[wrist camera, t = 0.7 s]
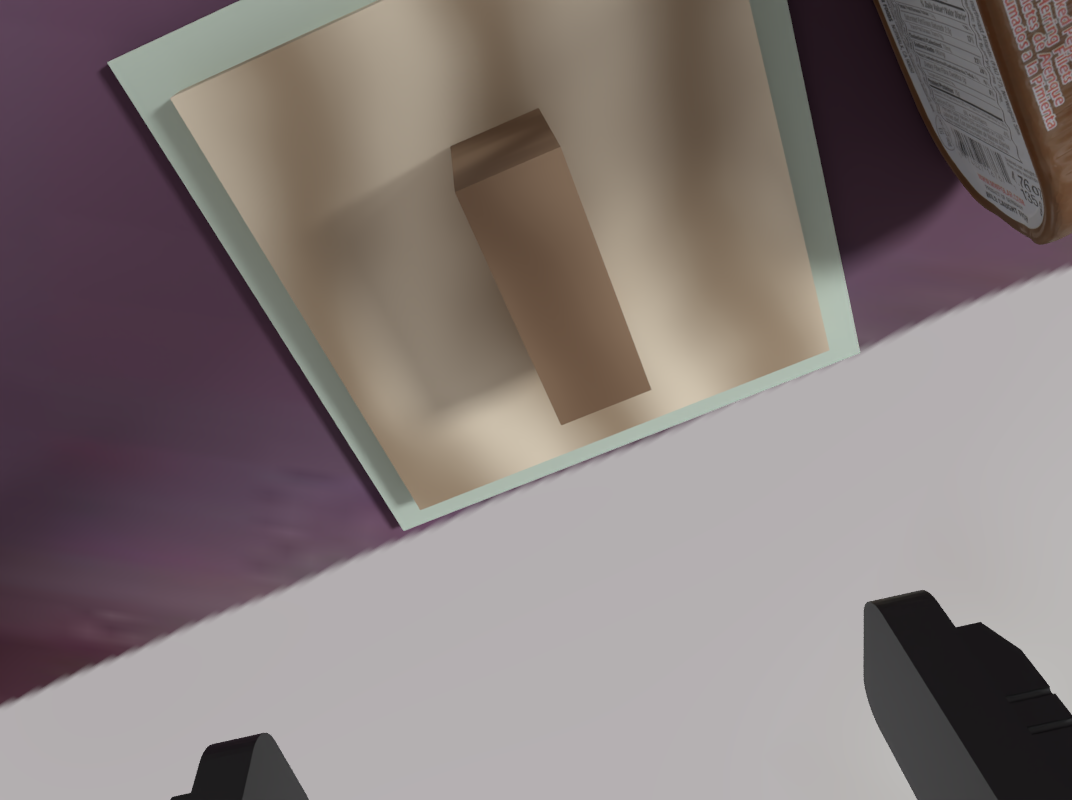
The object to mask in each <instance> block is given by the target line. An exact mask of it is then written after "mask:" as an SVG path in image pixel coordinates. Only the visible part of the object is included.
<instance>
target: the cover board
mask: <svg viewBox="0 0 1072 800" xmlns="http://www.w3.org/2000/svg"><path fill="white" fill-rule="evenodd" d="M170 99H171V101H172V102H173V104H174V106H175V107H176V109H177V111H178V112H179V114H180V116H181V117H182V119H183V121H184V122H185V124H186V126H187V127H188V129H189V130H190V132H191V134H192V135H193V137H194V139H195V140H196V142H197V144H198V145H199V147H200V149H201V150H202V152H203V153H204V155H205V157H206V158H207V160H208V162H209V163H210V165H211V167H212V168H213V170H214V172H215V173H216V175H217V177H218V178H219V180H220V181H221V183H222V185H223V186H224V188H225V190H226V191H227V193H228V195H229V196H230V198H231V200H232V201H233V203H234V204H235V206H236V208H237V209H238V211H239V213H240V214H241V216H242V218H243V219H244V221H245V223H246V224H247V226H248V228H249V229H250V231H251V232H252V234H253V236H254V237H255V239H256V241H257V242H258V244H259V246H260V247H261V249H262V251H263V252H264V254H265V255H266V257H267V259H268V260H269V262H270V264H271V265H272V267H273V269H274V270H275V272H276V274H277V275H278V277H279V279H280V280H281V282H282V283H283V285H284V287H285V288H286V290H287V292H288V293H289V295H290V297H291V298H292V300H293V302H294V303H295V305H296V306H297V308H298V310H299V311H300V313H301V315H302V316H303V318H304V320H305V321H306V323H307V325H308V326H309V328H310V330H311V331H312V333H313V334H314V336H315V338H316V339H317V341H318V343H319V344H320V346H321V348H322V349H323V351H324V353H325V354H326V356H327V357H328V359H329V361H330V362H331V364H332V366H333V367H334V369H335V371H336V372H337V374H338V376H339V377H340V379H341V380H342V382H343V384H344V385H345V387H346V389H347V390H348V392H349V394H350V395H351V397H352V399H353V400H354V402H355V404H356V405H357V407H358V408H359V410H360V412H361V413H362V415H363V417H364V418H365V420H366V422H367V423H368V425H369V427H370V428H371V430H372V431H373V433H374V435H375V436H376V438H377V440H378V441H379V443H380V445H381V446H382V448H383V450H384V451H385V453H386V455H387V456H388V458H389V459H390V461H391V463H392V464H393V466H394V468H395V469H396V471H397V473H398V474H399V476H400V478H401V479H402V481H403V482H404V484H405V486H406V487H407V489H408V491H409V492H410V494H411V496H412V497H413V499H414V501H415V502H416V504H417V506H418V507H419V509H420V510H422V509H425V508H428V507H430V506H433V505H435V504H438V503H440V502H443V501H445V500H448V499H451V498H453V497H456V496H458V495H461V494H463V493H466V492H468V491H471V490H474V489H476V488H479V487H481V486H484V485H486V484H489V483H491V482H494V481H497V480H499V479H502V478H504V477H507V476H509V475H512V474H514V473H517V472H520V471H522V470H525V469H527V468H530V467H532V466H535V465H537V464H540V463H543V462H545V461H548V460H550V459H553V458H555V457H558V456H560V455H563V454H566V453H568V452H571V451H573V450H576V449H578V448H581V447H583V446H586V445H589V444H591V443H594V442H596V441H599V440H601V439H604V438H606V437H609V436H612V435H614V434H617V433H619V432H622V431H624V430H627V429H629V428H632V427H635V426H637V425H640V424H642V423H645V422H647V421H650V420H652V419H655V418H658V417H660V416H663V415H665V414H668V413H670V412H673V411H675V410H678V409H681V408H683V407H686V406H688V405H691V404H693V403H696V402H698V401H701V400H704V399H706V398H709V397H711V396H714V395H716V394H719V393H721V392H724V391H727V390H729V389H732V388H734V387H737V386H739V385H742V384H744V383H747V382H750V381H752V380H755V379H757V378H760V377H762V376H765V375H767V374H770V373H773V372H775V371H778V370H780V369H783V368H785V367H788V366H790V365H793V364H796V363H798V362H801V361H803V360H806V359H808V358H811V357H813V356H816V355H819V354H821V353H824V352H826V351H829V345H828V341H827V337H826V332H825V328H824V324H823V319H822V315H821V310H820V306H819V302H818V297H817V293H816V289H815V284H814V280H813V276H812V271H811V267H810V263H809V258H808V254H807V250H806V245H805V241H804V237H803V232H802V228H801V224H800V219H799V215H798V211H797V206H796V202H795V198H794V193H793V189H792V184H791V180H790V176H789V171H788V167H787V163H786V158H785V154H784V150H783V145H782V141H781V137H780V132H779V128H778V124H777V119H776V115H775V111H774V106H773V102H772V98H771V93H770V89H769V85H768V80H767V76H766V72H765V67H764V63H763V58H762V54H761V50H760V45H759V41H758V37H757V32H756V28H755V24H754V19H753V15H752V11H751V6H750V2H749V0H377V1H375V2H373V3H370V4H368V5H366V6H364V7H362V8H359V9H357V10H355V11H353V12H351V13H349V14H346V15H344V16H342V17H340V18H338V19H335V20H333V21H331V22H329V23H327V24H325V25H322V26H320V27H318V28H316V29H314V30H311V31H309V32H307V33H305V34H303V35H301V36H298V37H296V38H294V39H292V40H290V41H287V42H285V43H283V44H281V45H279V46H277V47H274V48H272V49H270V50H268V51H266V52H263V53H261V54H259V55H257V56H255V57H253V58H250V59H248V60H246V61H244V62H242V63H239V64H237V65H235V66H233V67H231V68H229V69H226V70H224V71H222V72H220V73H218V74H215V75H213V76H211V77H209V78H207V79H205V80H202V81H200V82H198V83H196V84H194V85H191V86H189V87H187V88H185V89H183V90H181V91H179V92H178V93H176V94H175V95H173V96H172V97H171V98H170Z"/></svg>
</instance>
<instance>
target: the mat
mask: <svg viewBox="0 0 1072 800" xmlns="http://www.w3.org/2000/svg"><path fill="white" fill-rule="evenodd" d="M375 1H377V0H240V1H238V2H235V3H233V4H231V5H229V6H227V7H225V8H223V9H220V10H218V11H216V12H214V13H212V14H210V15H208V16H205V17H203V18H201V19H199V20H197V21H195V22H193V23H190V24H188V25H186V26H184V27H182V28H180V29H178V30H175V31H173V32H171V33H169V34H167V35H165V36H163V37H160V38H158V39H156V40H154V41H152V42H150V43H148V44H145V45H143V46H141V47H139V48H137V49H135V50H133V51H130V52H128V53H126V54H124V55H122V56H120V57H118V58H115V59H113V60H111V61H109V62H107V63H108V65H109V66H110V68H111V69H112V71H113V73H114V74H115V76H116V77H117V79H118V81H119V82H120V84H121V85H122V87H123V88H124V90H125V92H126V93H127V95H128V96H129V98H130V99H131V101H132V103H133V104H134V106H135V107H136V109H137V111H138V112H139V114H140V115H141V117H142V118H143V120H144V122H145V123H146V125H147V126H148V128H149V130H150V131H151V133H152V134H153V136H154V137H155V139H156V141H157V142H158V144H159V145H160V147H161V148H162V150H163V152H164V153H165V155H166V156H167V158H168V160H169V161H170V163H171V164H172V166H173V167H174V169H175V171H176V172H177V174H178V175H179V177H180V178H181V180H182V182H183V183H184V185H185V186H186V188H187V190H188V191H189V193H190V194H191V196H192V197H193V199H194V201H195V202H196V204H197V205H198V207H199V208H200V210H201V212H202V213H203V215H204V216H205V218H206V220H207V221H208V223H209V224H210V226H211V227H212V229H213V231H214V232H215V234H216V235H217V237H218V238H219V240H220V242H221V243H222V245H223V246H224V248H225V250H226V251H227V253H228V254H229V256H230V257H231V259H232V261H233V262H234V264H235V265H236V267H237V268H238V270H239V272H240V273H241V275H242V276H243V278H244V280H245V281H246V283H247V284H248V286H249V287H250V289H251V291H252V292H253V294H254V295H255V297H256V299H257V300H258V302H259V303H260V305H261V306H262V308H263V310H264V311H265V313H266V314H267V316H268V317H269V319H270V321H271V322H272V324H273V325H274V327H275V329H276V330H277V332H278V333H279V335H280V336H281V338H282V340H283V341H284V343H285V344H286V346H287V347H288V349H289V351H290V352H291V354H292V355H293V357H294V359H295V360H296V362H297V363H298V365H299V366H300V368H301V370H302V371H303V373H304V374H305V376H306V377H307V379H308V381H309V382H310V384H311V385H312V387H313V389H314V390H315V392H316V393H317V395H318V396H319V398H320V400H321V401H322V403H323V404H324V406H325V407H326V409H327V411H328V412H329V414H330V415H331V417H332V419H333V420H334V422H335V423H336V425H337V426H338V428H339V430H340V431H341V433H342V434H343V436H344V437H345V439H346V441H347V442H348V444H349V445H350V447H351V449H352V450H353V452H354V453H355V455H356V456H357V458H358V460H359V461H360V463H361V464H362V466H363V468H364V469H365V471H366V472H367V474H368V475H369V477H370V479H371V480H372V482H373V483H374V485H375V486H376V488H377V490H378V491H379V493H380V494H381V496H382V498H383V499H384V501H385V502H386V504H387V505H388V507H389V509H390V510H391V512H392V513H393V515H394V516H395V518H396V520H397V521H398V523H399V524H400V526H401V528H402V529H403V531H405V530H407V529H410V528H412V527H415V526H418V525H420V524H423V523H425V522H428V521H430V520H433V519H436V518H438V517H441V516H443V515H446V514H448V513H451V512H454V511H456V510H459V509H461V508H464V507H466V506H469V505H472V504H474V503H477V502H479V501H482V500H484V499H487V498H490V497H492V496H495V495H497V494H500V493H502V492H505V491H507V490H510V489H513V488H515V487H518V486H520V485H523V484H525V483H528V482H531V481H533V480H536V479H538V478H541V477H543V476H546V475H549V474H551V473H554V472H556V471H559V470H561V469H564V468H567V467H569V466H572V465H574V464H577V463H579V462H582V461H585V460H587V459H590V458H592V457H595V456H597V455H600V454H602V453H605V452H608V451H610V450H613V449H615V448H618V447H620V446H623V445H626V444H628V443H631V442H633V441H636V440H638V439H641V438H644V437H646V436H649V435H651V434H654V433H656V432H659V431H662V430H664V429H667V428H669V427H672V426H674V425H677V424H680V423H682V422H685V421H687V420H690V419H692V418H695V417H697V416H700V415H703V414H705V413H708V412H710V411H713V410H715V409H718V408H721V407H723V406H726V405H728V404H731V403H733V402H736V401H739V400H741V399H744V398H746V397H749V396H751V395H754V394H757V393H759V392H762V391H764V390H767V389H769V388H772V387H775V386H777V385H780V384H782V383H785V382H787V381H790V380H792V379H795V378H798V377H800V376H803V375H805V374H808V373H810V372H813V371H816V370H818V369H821V368H823V367H826V366H828V365H831V364H834V363H836V362H839V361H841V360H844V359H846V358H849V357H852V356H854V355H857V354H859V353H860V349H859V344H858V340H857V335H856V330H855V325H854V320H853V315H852V311H851V306H850V301H849V296H848V291H847V287H846V282H845V277H844V272H843V267H842V263H841V258H840V253H839V248H838V243H837V238H836V234H835V229H834V224H833V219H832V214H831V210H830V205H829V200H828V195H827V190H826V185H825V181H824V176H823V171H822V166H821V161H820V157H819V152H818V147H817V142H816V137H815V133H814V128H813V123H812V118H811V113H810V108H809V104H808V99H807V94H806V89H805V84H804V80H803V75H802V70H801V65H800V60H799V55H798V51H797V46H796V41H795V36H794V31H793V27H792V22H791V17H790V12H789V7H788V3H787V0H749V2H750V6H751V11H752V15H753V19H754V24H755V28H756V32H757V37H758V41H759V45H760V50H761V54H762V58H763V63H764V67H765V72H766V76H767V80H768V85H769V89H770V93H771V98H772V102H773V106H774V111H775V115H776V119H777V124H778V128H779V132H780V137H781V141H782V145H783V150H784V154H785V158H786V163H787V167H788V171H789V176H790V180H791V184H792V189H793V193H794V198H795V202H796V206H797V211H798V215H799V219H800V224H801V228H802V232H803V237H804V241H805V245H806V250H807V254H808V258H809V263H810V267H811V271H812V276H813V280H814V284H815V289H816V293H817V297H818V302H819V306H820V310H821V315H822V319H823V324H824V328H825V332H826V337H827V341H828V345H829V351H826V352H824V353H821V354H819V355H816V356H813V357H811V358H808V359H806V360H803V361H801V362H798V363H796V364H793V365H790V366H788V367H785V368H783V369H780V370H778V371H775V372H773V373H770V374H767V375H765V376H762V377H760V378H757V379H755V380H752V381H750V382H747V383H744V384H742V385H739V386H737V387H734V388H732V389H729V390H727V391H724V392H721V393H719V394H716V395H714V396H711V397H709V398H706V399H704V400H701V401H698V402H696V403H693V404H691V405H688V406H686V407H683V408H681V409H678V410H675V411H673V412H670V413H668V414H665V415H663V416H660V417H658V418H655V419H652V420H650V421H647V422H645V423H642V424H640V425H637V426H635V427H632V428H629V429H627V430H624V431H622V432H619V433H617V434H614V435H612V436H609V437H606V438H604V439H601V440H599V441H596V442H594V443H591V444H589V445H586V446H583V447H581V448H578V449H576V450H573V451H571V452H568V453H566V454H563V455H560V456H558V457H555V458H553V459H550V460H548V461H545V462H543V463H540V464H537V465H535V466H532V467H530V468H527V469H525V470H522V471H520V472H517V473H514V474H512V475H509V476H507V477H504V478H502V479H499V480H497V481H494V482H491V483H489V484H486V485H484V486H481V487H479V488H476V489H474V490H471V491H468V492H466V493H463V494H461V495H458V496H456V497H453V498H451V499H448V500H445V501H443V502H440V503H438V504H435V505H433V506H430V507H428V508H425V509H422V510H420V509H419V507H418V506H417V504H416V502H415V501H414V499H413V497H412V496H411V494H410V492H409V491H408V489H407V487H406V486H405V484H404V482H403V481H402V479H401V478H400V476H399V474H398V473H397V471H396V469H395V468H394V466H393V464H392V463H391V461H390V459H389V458H388V456H387V455H386V453H385V451H384V450H383V448H382V446H381V445H380V443H379V441H378V440H377V438H376V436H375V435H374V433H373V431H372V430H371V428H370V427H369V425H368V423H367V422H366V420H365V418H364V417H363V415H362V413H361V412H360V410H359V408H358V407H357V405H356V404H355V402H354V400H353V399H352V397H351V395H350V394H349V392H348V390H347V389H346V387H345V385H344V384H343V382H342V380H341V379H340V377H339V376H338V374H337V372H336V371H335V369H334V367H333V366H332V364H331V362H330V361H329V359H328V357H327V356H326V354H325V353H324V351H323V349H322V348H321V346H320V344H319V343H318V341H317V339H316V338H315V336H314V334H313V333H312V331H311V330H310V328H309V326H308V325H307V323H306V321H305V320H304V318H303V316H302V315H301V313H300V311H299V310H298V308H297V306H296V305H295V303H294V302H293V300H292V298H291V297H290V295H289V293H288V292H287V290H286V288H285V287H284V285H283V283H282V282H281V280H280V279H279V277H278V275H277V274H276V272H275V270H274V269H273V267H272V265H271V264H270V262H269V260H268V259H267V257H266V255H265V254H264V252H263V251H262V249H261V247H260V246H259V244H258V242H257V241H256V239H255V237H254V236H253V234H252V232H251V231H250V229H249V228H248V226H247V224H246V223H245V221H244V219H243V218H242V216H241V214H240V213H239V211H238V209H237V208H236V206H235V204H234V203H233V201H232V200H231V198H230V196H229V195H228V193H227V191H226V190H225V188H224V186H223V185H222V183H221V181H220V180H219V178H218V177H217V175H216V173H215V172H214V170H213V168H212V167H211V165H210V163H209V162H208V160H207V158H206V157H205V155H204V153H203V152H202V150H201V149H200V147H199V145H198V144H197V142H196V140H195V139H194V137H193V135H192V134H191V132H190V130H189V129H188V127H187V126H186V124H185V122H184V121H183V119H182V117H181V116H180V114H179V112H178V111H177V109H176V107H175V106H174V104H173V102H172V101H171V99H170V98H171V97H172V96H173V95H175V94H176V93H178V92H179V91H181V90H183V89H185V88H187V87H189V86H191V85H194V84H196V83H198V82H200V81H202V80H205V79H207V78H209V77H211V76H213V75H215V74H218V73H220V72H222V71H224V70H226V69H229V68H231V67H233V66H235V65H237V64H239V63H242V62H244V61H246V60H248V59H250V58H253V57H255V56H257V55H259V54H261V53H263V52H266V51H268V50H270V49H272V48H274V47H277V46H279V45H281V44H283V43H285V42H287V41H290V40H292V39H294V38H296V37H298V36H301V35H303V34H305V33H307V32H309V31H311V30H314V29H316V28H318V27H320V26H322V25H325V24H327V23H329V22H331V21H333V20H335V19H338V18H340V17H342V16H344V15H346V14H349V13H351V12H353V11H355V10H357V9H359V8H362V7H364V6H366V5H368V4H370V3H373V2H375Z"/></svg>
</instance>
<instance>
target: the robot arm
mask: <svg viewBox="0 0 1072 800" xmlns="http://www.w3.org/2000/svg"><path fill="white" fill-rule="evenodd" d="M864 684H865V690H866V694H867V698H868V701H869V704H870V707H871V710H872V713H873V715H874V718H875V720H876V722H877V724H878V726H879V728H880V730H881V732H882V734H883V736H884V738H885V740H886V742H887V743H888V745H889V747H890V749H891V751H892V753H893V754H894V756H895V758H896V760H897V762H898V764H899V766H900V768H901V770H902V772H903V773H904V775H905V777H906V779H907V781H908V783H909V784H910V787H911V788H912V790H913V792H914V794H915V796H916V798H917V799H918V800H1072V715H1071V713H1070V712H1069V711H1068V709H1067V708H1066V707H1065V706H1064V704H1063V703H1062V702H1061V700H1060V699H1059V698H1058V697H1057V695H1056V694H1052V693H1051V691H1050V686H1049V685H1048V684H1047V683H1046V681H1045V680H1044V679H1043V677H1042V676H1041V675H1040V674H1039V672H1038V671H1037V670H1036V669H1035V667H1034V666H1033V665H1032V663H1031V662H1030V661H1029V659H1028V658H1027V657H1026V656H1025V654H1024V653H1023V652H1022V651H1021V650H1020V649H1019V648H1018V647H1016V646H1015V645H1013V644H1012V643H1010V642H1009V641H1007V640H1006V639H1004V638H1003V637H1001V636H1000V635H998V634H997V633H996V632H994V631H993V630H991V629H990V628H988V627H987V626H985V625H984V624H982V623H981V622H979V623H975V624H970V625H965V626H961V627H955V626H954V625H953V623H952V622H951V620H950V619H949V617H948V616H947V615H946V613H945V612H944V611H943V609H942V608H941V607H940V605H939V603H938V602H937V601H936V600H935V598H934V597H933V596H932V595H931V594H930V593H928V592H927V591H925V590H920V591H916V592H911V593H907V594H902V595H898V596H893V597H888V598H884V599H879V600H875V601H870V602H867V603H866V604H865V607H864ZM171 800H309V799H308V797H307V795H306V793H305V792H304V790H303V788H302V786H301V785H300V783H299V782H298V780H297V778H296V776H295V774H294V773H293V771H292V769H291V768H290V766H289V764H288V762H287V761H286V759H285V758H284V756H283V754H282V752H281V750H280V749H279V747H278V745H277V743H276V742H275V740H274V739H273V737H272V736H271V735H270V734H268V733H261V734H257V735H253V736H248V737H244V738H239V739H234V740H230V741H225V742H221V743H216V744H212V745H210V746H208V747H207V748H206V750H205V751H204V753H203V755H202V757H201V760H200V763H199V767H198V770H197V774H196V777H195V781H194V785H193V788H192V791H191V793H189V794H184V795H180V796H175V797H172V798H171Z"/></svg>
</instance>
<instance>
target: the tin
mask: <svg viewBox="0 0 1072 800" xmlns="http://www.w3.org/2000/svg"><path fill="white" fill-rule="evenodd" d="M873 2H874V4H875V7H876V9H877V12H878V14H879V17H880V19H881V21H882V24H883V26H884V29H885V31H886V34H887V36H888V39H889V41H890V43H891V46H892V48H893V51H894V53H895V56H896V58H897V61H898V63H899V65H900V68H901V70H902V73H903V75H904V78H905V80H906V82H907V85H908V87H909V89H910V92H911V94H912V97H913V99H914V101H915V104H916V106H917V109H918V111H919V113H920V115H921V117H922V119H923V121H924V123H925V125H926V127H927V129H928V131H929V133H930V135H931V137H932V139H933V140H934V142H935V144H936V146H937V147H938V149H939V151H940V152H941V154H942V156H943V157H944V159H945V161H946V162H947V164H948V165H949V166H950V168H951V169H952V171H953V172H954V174H955V175H956V177H957V178H958V179H959V180H960V182H961V183H962V184H963V186H964V187H965V188H966V189H967V190H968V192H969V193H970V194H971V195H972V197H973V198H974V199H975V200H976V201H977V202H978V203H980V204H981V205H982V206H983V207H984V208H986V209H987V210H989V211H991V212H992V213H994V214H996V215H997V216H999V217H1000V218H1001V219H1003V220H1004V221H1005V222H1006V223H1008V224H1009V225H1010V226H1011V227H1013V228H1014V229H1016V230H1017V231H1019V232H1020V233H1022V234H1024V235H1025V236H1027V237H1029V238H1030V239H1032V241H1033V242H1034V243H1036V244H1039V245H1040V244H1047V243H1050V242H1053V241H1056V240H1059V239H1061V238H1063V237H1065V236H1067V235H1069V234H1071V233H1072V0H873Z"/></svg>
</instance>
